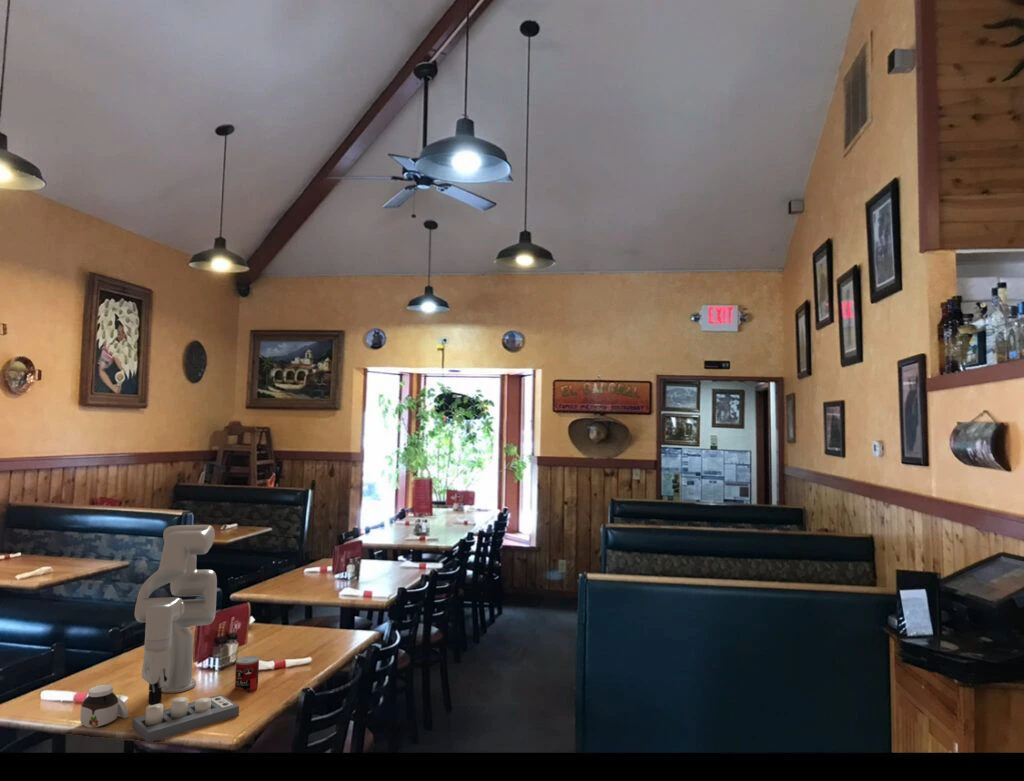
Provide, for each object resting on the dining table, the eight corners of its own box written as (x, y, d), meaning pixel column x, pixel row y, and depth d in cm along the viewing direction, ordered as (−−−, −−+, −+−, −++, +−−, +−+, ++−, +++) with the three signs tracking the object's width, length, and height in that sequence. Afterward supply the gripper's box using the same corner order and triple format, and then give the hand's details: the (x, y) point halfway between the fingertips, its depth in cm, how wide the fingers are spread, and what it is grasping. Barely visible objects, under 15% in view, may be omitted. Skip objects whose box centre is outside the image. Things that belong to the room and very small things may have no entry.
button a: (192, 715, 219) (192, 700, 219) (206, 711, 222) (207, 696, 223) (197, 720, 216) (198, 704, 216) (212, 716, 219) (213, 700, 219)
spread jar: (75, 729, 211) (77, 691, 211) (102, 714, 222) (104, 679, 222) (108, 733, 209) (110, 695, 209) (134, 718, 220) (136, 682, 220)
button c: (142, 722, 208) (143, 706, 208) (159, 718, 212) (160, 702, 212) (148, 727, 205) (149, 711, 205) (164, 723, 208) (165, 706, 209)
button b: (168, 715, 214) (169, 699, 214) (183, 711, 217) (184, 695, 217) (173, 720, 210) (174, 704, 211) (189, 715, 214) (190, 700, 214)
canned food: (230, 691, 243) (231, 661, 244) (246, 684, 250) (247, 654, 251) (246, 695, 240) (247, 664, 241) (262, 687, 247) (263, 657, 248)
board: (131, 731, 210) (132, 717, 210) (220, 706, 230) (221, 693, 231) (147, 746, 200) (148, 731, 201) (238, 718, 221) (239, 704, 221)
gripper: (136, 641, 212) (133, 700, 211) (153, 651, 202) (150, 713, 200) (161, 636, 218) (158, 694, 216) (179, 646, 207) (176, 706, 206)
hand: (154, 703), depth 208 cm, fingers closed
